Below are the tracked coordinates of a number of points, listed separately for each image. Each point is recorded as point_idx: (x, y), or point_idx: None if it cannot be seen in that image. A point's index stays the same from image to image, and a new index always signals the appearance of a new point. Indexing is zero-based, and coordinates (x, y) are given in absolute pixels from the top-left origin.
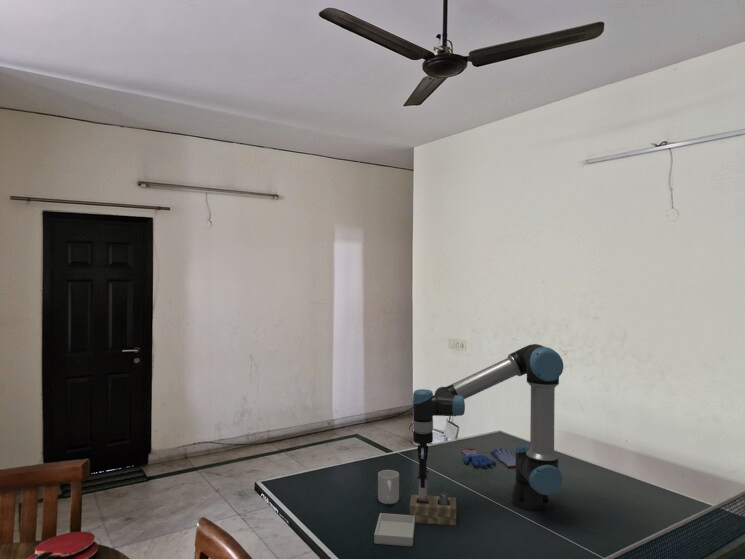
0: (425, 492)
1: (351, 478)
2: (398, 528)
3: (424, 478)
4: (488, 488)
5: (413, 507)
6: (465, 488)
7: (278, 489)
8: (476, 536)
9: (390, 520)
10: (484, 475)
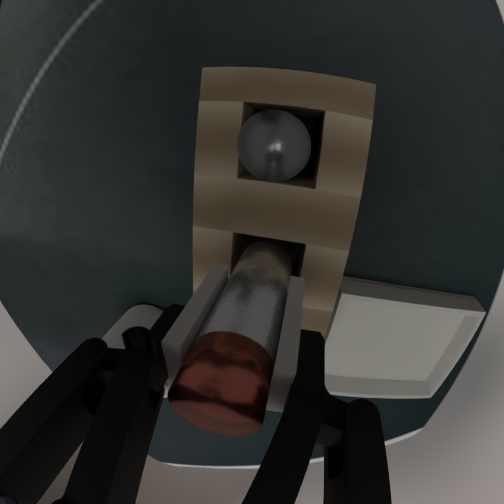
0: (301, 297)
1: None
2: (377, 334)
3: (372, 416)
4: (54, 12)
5: (329, 316)
6: (47, 73)
7: (176, 458)
8: (438, 50)
9: None
10: (5, 48)
